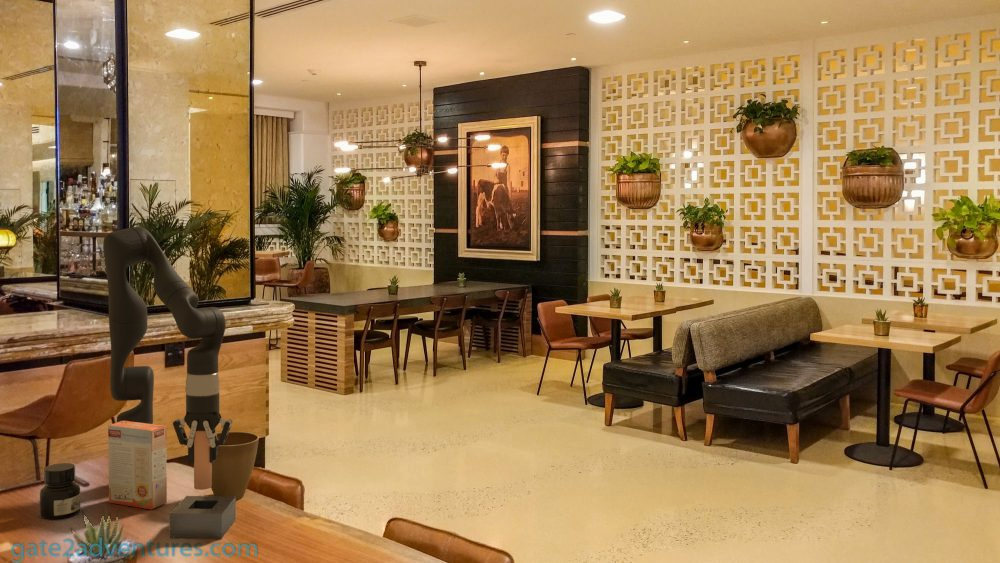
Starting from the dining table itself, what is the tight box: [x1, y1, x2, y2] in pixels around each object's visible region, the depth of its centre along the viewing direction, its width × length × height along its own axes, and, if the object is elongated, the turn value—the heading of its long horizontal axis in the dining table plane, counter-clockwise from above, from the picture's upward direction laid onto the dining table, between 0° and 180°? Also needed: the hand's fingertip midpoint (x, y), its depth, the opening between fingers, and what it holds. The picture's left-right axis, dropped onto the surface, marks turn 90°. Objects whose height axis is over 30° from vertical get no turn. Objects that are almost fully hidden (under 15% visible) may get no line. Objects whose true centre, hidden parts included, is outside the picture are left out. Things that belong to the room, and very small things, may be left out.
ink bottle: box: [39, 462, 81, 520], centre depth 207 cm, size 10×9×12 cm
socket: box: [169, 495, 237, 540], centre depth 200 cm, size 12×12×6 cm
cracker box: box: [107, 421, 168, 510], centre depth 215 cm, size 14×6×21 cm, turn 71°
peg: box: [193, 431, 212, 491], centre depth 199 cm, size 4×4×14 cm
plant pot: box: [210, 431, 260, 500], centre depth 223 cm, size 15×15×16 cm
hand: (202, 461), depth 199 cm, fingers closed on peg, 4 cm apart
